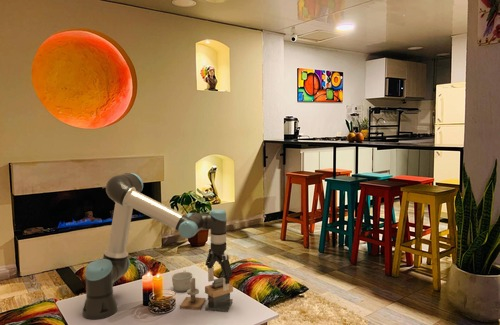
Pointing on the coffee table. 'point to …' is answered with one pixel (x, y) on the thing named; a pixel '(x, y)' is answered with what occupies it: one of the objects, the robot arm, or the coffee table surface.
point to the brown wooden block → (217, 291)
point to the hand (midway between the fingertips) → (218, 285)
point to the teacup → (181, 281)
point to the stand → (192, 298)
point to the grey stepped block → (219, 299)
